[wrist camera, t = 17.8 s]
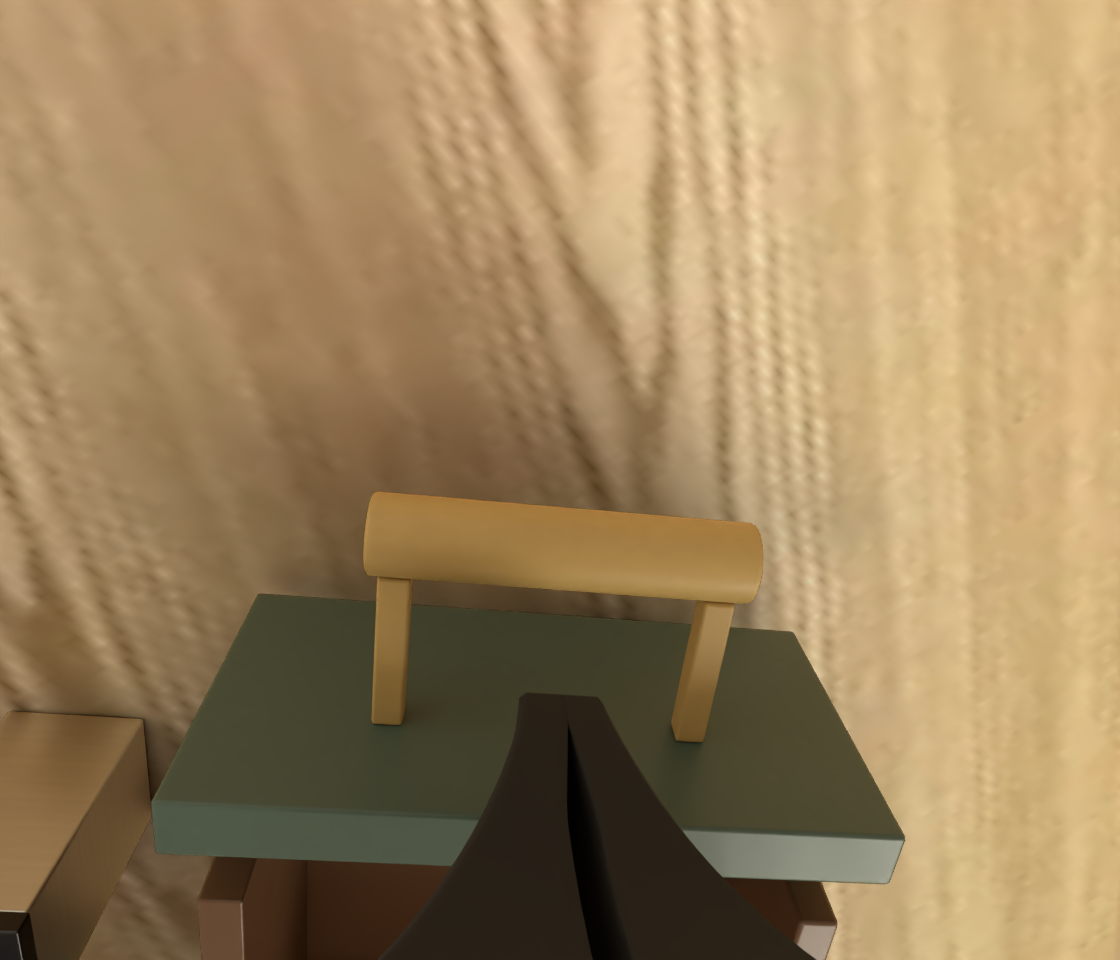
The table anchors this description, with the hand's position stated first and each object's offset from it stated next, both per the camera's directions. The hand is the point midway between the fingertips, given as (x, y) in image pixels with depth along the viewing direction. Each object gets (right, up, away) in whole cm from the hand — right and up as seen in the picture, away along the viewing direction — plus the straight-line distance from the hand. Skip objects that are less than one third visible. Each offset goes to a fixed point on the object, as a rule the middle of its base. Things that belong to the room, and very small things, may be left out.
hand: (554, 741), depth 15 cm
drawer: (-1, -3, +8) cm, 8 cm away
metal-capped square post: (-13, -3, +8) cm, 16 cm away
